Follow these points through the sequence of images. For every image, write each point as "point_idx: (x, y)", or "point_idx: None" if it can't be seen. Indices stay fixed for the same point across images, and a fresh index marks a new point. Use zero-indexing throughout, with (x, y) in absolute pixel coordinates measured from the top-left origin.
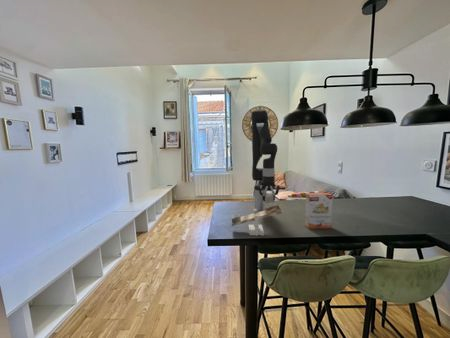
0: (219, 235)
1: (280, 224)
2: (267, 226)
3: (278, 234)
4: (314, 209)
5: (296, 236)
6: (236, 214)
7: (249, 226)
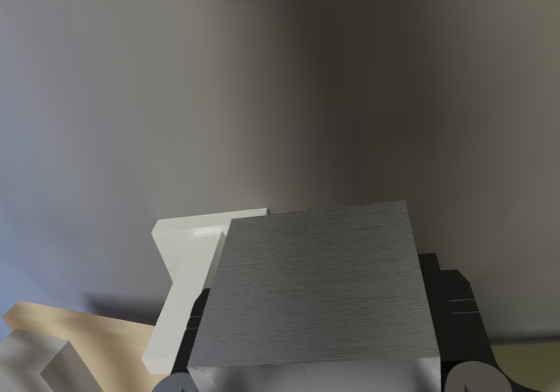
0: None
1: (459, 123)
2: (319, 190)
3: None
4: None
5: (529, 329)
6: (22, 373)
7: (171, 266)
